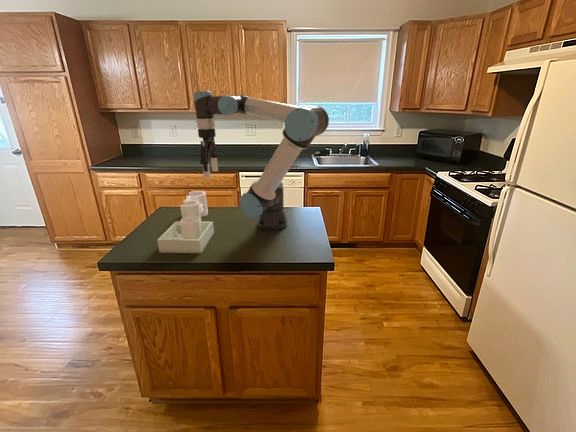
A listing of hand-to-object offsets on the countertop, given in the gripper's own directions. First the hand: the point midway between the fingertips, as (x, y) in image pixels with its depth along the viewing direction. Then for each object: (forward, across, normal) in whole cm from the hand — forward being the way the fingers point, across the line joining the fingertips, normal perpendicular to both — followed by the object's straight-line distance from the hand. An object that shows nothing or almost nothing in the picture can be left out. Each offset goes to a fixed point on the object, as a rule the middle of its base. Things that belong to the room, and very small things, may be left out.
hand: (211, 174), depth 146 cm
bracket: (+27, -9, -13) cm, 31 cm away
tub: (+27, +18, -8) cm, 33 cm away
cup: (+26, +18, -8) cm, 33 cm away
